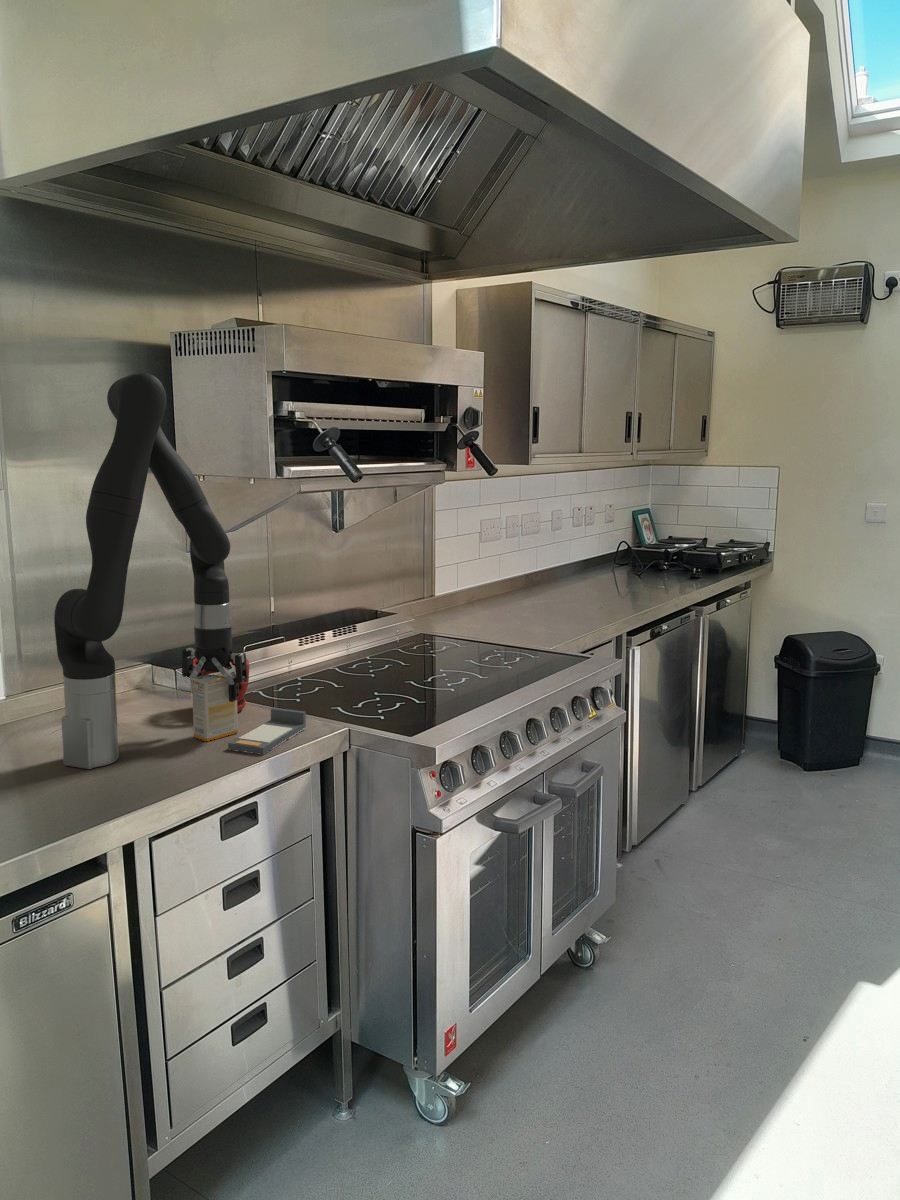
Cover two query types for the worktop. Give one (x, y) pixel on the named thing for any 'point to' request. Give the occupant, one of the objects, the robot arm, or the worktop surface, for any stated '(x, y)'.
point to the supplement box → (213, 707)
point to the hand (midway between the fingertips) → (215, 698)
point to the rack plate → (271, 731)
